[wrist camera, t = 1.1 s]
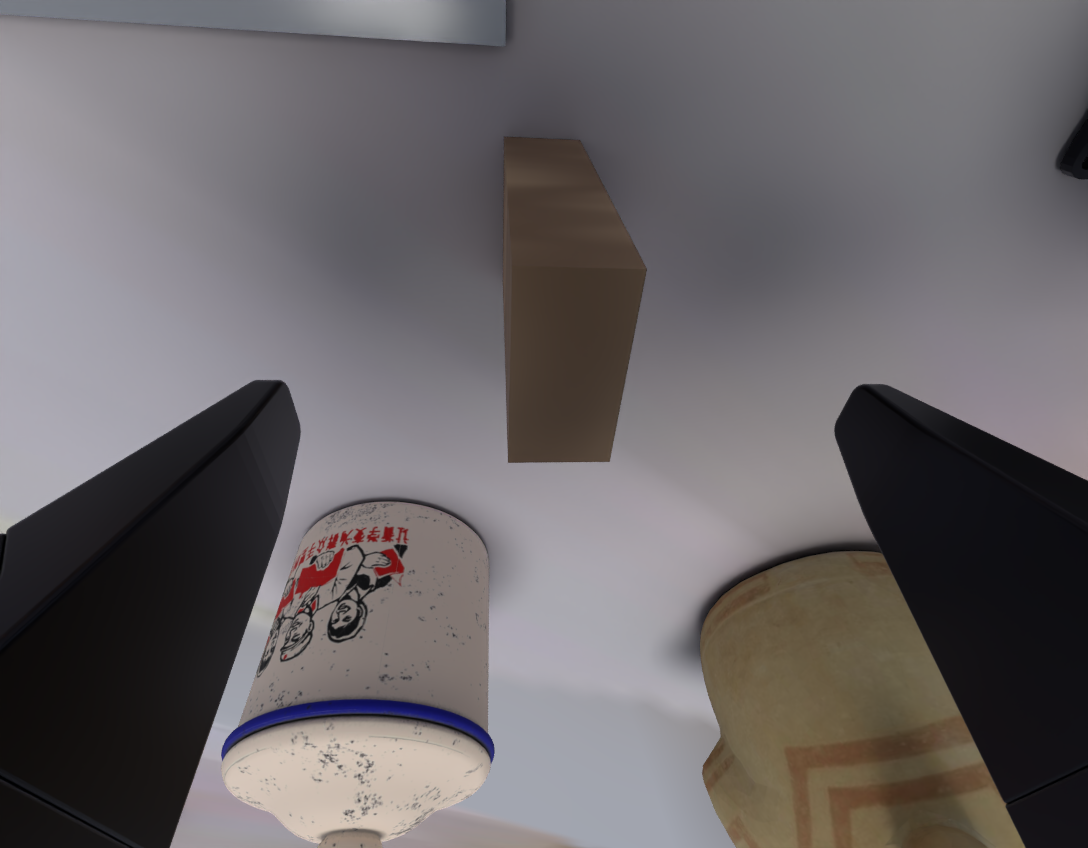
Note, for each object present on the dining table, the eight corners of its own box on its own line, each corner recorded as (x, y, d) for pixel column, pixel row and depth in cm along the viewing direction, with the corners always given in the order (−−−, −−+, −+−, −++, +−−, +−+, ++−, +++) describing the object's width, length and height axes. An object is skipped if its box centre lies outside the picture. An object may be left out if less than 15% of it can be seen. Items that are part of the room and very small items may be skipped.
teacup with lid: (398, 460, 21) (327, 818, 12) (531, 563, 26) (551, 866, 17) (212, 575, 25) (55, 909, 16) (360, 645, 30) (304, 926, 21)
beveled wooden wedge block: (580, 140, 14) (647, 269, 8) (566, 281, 16) (609, 461, 10) (504, 136, 14) (512, 265, 8) (502, 280, 16) (507, 462, 10)
